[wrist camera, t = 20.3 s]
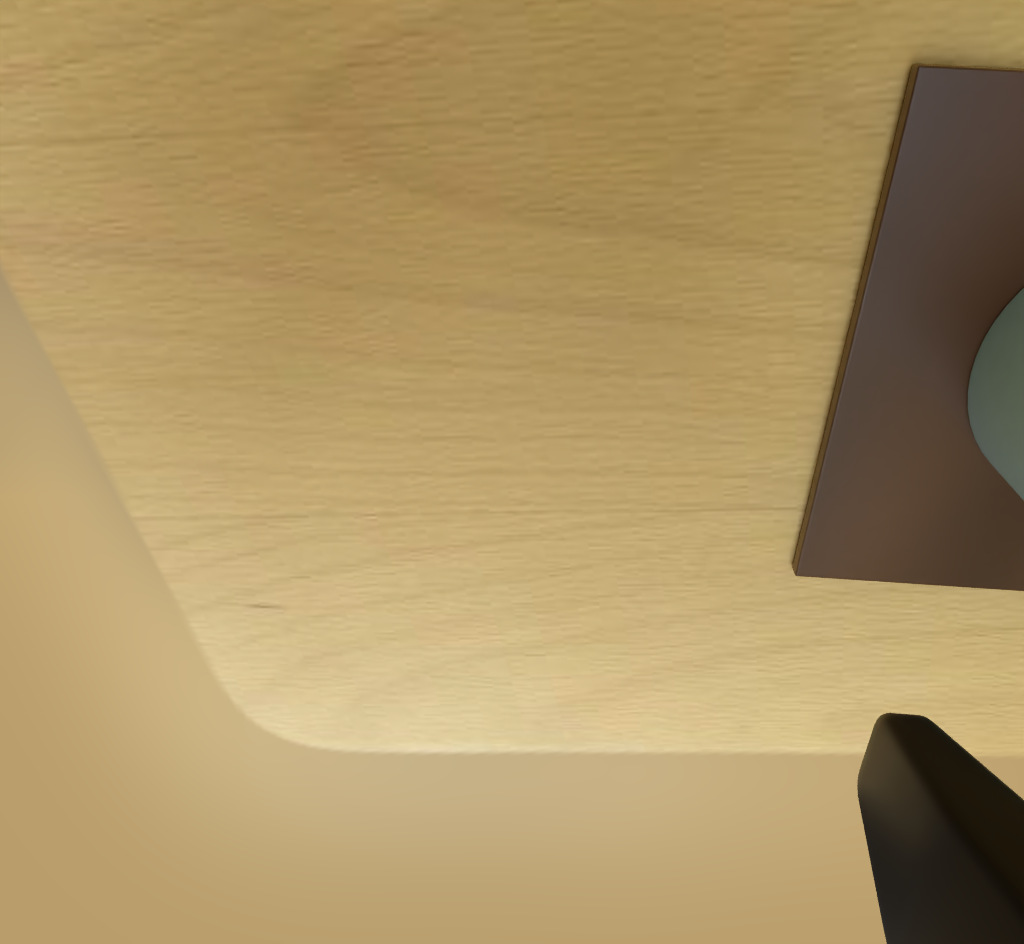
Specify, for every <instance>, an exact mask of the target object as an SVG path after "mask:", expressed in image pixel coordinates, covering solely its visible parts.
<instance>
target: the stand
mask: <svg viewBox="0 0 1024 944" xmlns="http://www.w3.org/2000/svg"><path fill="white" fill-rule="evenodd" d="M1023 288H1024V69H1008V68H989V67H970V66H951V65H931V64H913V65H912V68H911V72H910V77H909V81H908V85H907V89H906V93H905V98H904V102H903V106H902V110H901V114H900V119H899V123H898V127H897V131H896V135H895V139H894V144H893V148H892V152H891V156H890V160H889V165H888V169H887V173H886V177H885V181H884V186H883V190H882V194H881V198H880V202H879V207H878V211H877V215H876V219H875V223H874V227H873V232H872V236H871V240H870V244H869V248H868V253H867V257H866V261H865V265H864V269H863V274H862V278H861V282H860V286H859V290H858V294H857V299H856V303H855V307H854V311H853V315H852V320H851V324H850V328H849V332H848V336H847V341H846V345H845V349H844V353H843V357H842V361H841V366H840V370H839V374H838V378H837V382H836V387H835V391H834V395H833V399H832V403H831V408H830V412H829V416H828V420H827V424H826V428H825V433H824V437H823V441H822V445H821V449H820V454H819V458H818V462H817V466H816V470H815V475H814V479H813V483H812V487H811V491H810V496H809V500H808V504H807V508H806V512H805V516H804V521H803V525H802V529H801V533H800V537H799V542H798V546H797V550H796V554H795V558H794V563H793V567H792V568H793V570H794V573H795V575H796V576H806V577H821V578H836V579H851V580H866V581H881V582H896V583H911V584H926V585H941V586H956V587H971V588H986V589H1001V590H1016V591H1024V500H1023V499H1022V498H1021V497H1020V496H1019V495H1018V494H1017V493H1016V491H1015V490H1014V489H1013V488H1012V487H1011V486H1010V485H1009V484H1008V482H1007V481H1006V480H1005V479H1004V478H1003V477H1002V476H1001V475H1000V473H999V472H998V471H997V470H996V469H995V468H994V467H993V466H992V464H991V463H990V462H989V461H988V459H987V458H986V457H985V455H984V454H983V453H982V451H981V450H980V448H979V446H978V444H977V442H976V440H975V438H974V435H973V432H972V429H971V426H970V421H969V414H968V387H969V381H970V375H971V371H972V368H973V365H974V361H975V358H976V355H977V353H978V351H979V349H980V346H981V344H982V342H983V340H984V338H985V336H986V335H987V333H988V331H989V330H990V328H991V326H992V325H993V323H994V321H995V320H996V319H997V318H998V316H999V315H1000V314H1001V312H1002V311H1003V310H1004V308H1005V307H1006V306H1007V305H1008V304H1009V302H1010V301H1011V300H1012V299H1013V298H1014V297H1015V296H1016V295H1017V294H1018V293H1019V292H1020V291H1021V290H1022V289H1023Z"/></svg>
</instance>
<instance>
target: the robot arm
mask: <svg viewBox="0 0 1024 944" xmlns="http://www.w3.org/2000/svg"><path fill="white" fill-rule="evenodd" d="M858 798H859V804H860V809H861V814H862V819H863V824H864V830H865V835H866V839H867V845H868V850H869V856H870V861H871V865H872V871H873V876H874V881H875V887H876V891H877V897H878V902H879V907H880V912H881V917H882V923H883V927H884V933H885V937H886V942H887V944H1024V800H1023V799H1022V798H1021V797H1019V796H1018V795H1017V794H1016V793H1015V792H1014V791H1013V790H1011V789H1010V788H1009V787H1008V786H1007V785H1006V784H1004V783H1003V782H1002V781H1001V780H1000V779H998V778H997V777H996V776H995V775H994V774H993V773H991V771H989V770H988V769H987V768H986V767H985V766H983V765H982V764H981V763H980V762H979V761H978V760H977V759H975V758H974V757H973V756H972V755H971V754H970V753H968V752H967V751H966V750H965V749H964V748H963V747H961V746H960V745H959V744H958V743H957V742H956V741H954V740H953V739H952V738H951V737H950V736H949V735H947V734H946V733H945V732H944V731H943V730H942V729H940V728H939V727H938V726H937V725H936V724H935V723H933V722H932V721H931V720H929V719H928V718H926V717H924V716H920V715H909V714H895V713H886V714H883V715H881V716H880V717H879V718H878V719H877V721H876V723H875V725H874V728H873V731H872V734H871V737H870V740H869V743H868V746H867V749H866V752H865V755H864V759H863V761H862V765H861V768H860V771H859V775H858Z"/></svg>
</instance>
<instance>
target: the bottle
mask: <svg viewBox="0 0 1024 944" xmlns="http://www.w3.org/2000/svg"><path fill="white" fill-rule="evenodd" d="M968 414H969V421H970V426H971V429H972V432H973V435H974V438H975V440H976V442H977V444H978V446H979V448H980V450H981V451H982V453H983V454H984V455H985V457H986V458H987V459H988V461H989V462H990V463H991V464H992V466H993V467H994V468H995V469H996V470H997V471H998V472H999V473H1000V475H1001V476H1002V477H1003V478H1004V479H1005V480H1006V481H1007V482H1008V484H1009V485H1010V486H1011V487H1012V488H1013V489H1014V490H1015V491H1016V493H1017V494H1018V495H1019V496H1020V497H1021V498H1022V499H1023V500H1024V288H1023V289H1022V290H1021V291H1020V292H1019V293H1018V294H1017V295H1016V296H1015V297H1014V298H1013V299H1012V300H1011V301H1010V302H1009V304H1008V305H1007V306H1006V307H1005V308H1004V310H1003V311H1002V312H1001V314H1000V315H999V316H998V318H997V319H996V320H995V321H994V323H993V325H992V326H991V328H990V330H989V331H988V333H987V335H986V336H985V338H984V340H983V342H982V344H981V346H980V349H979V351H978V353H977V355H976V358H975V361H974V365H973V368H972V371H971V375H970V381H969V387H968Z"/></svg>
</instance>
